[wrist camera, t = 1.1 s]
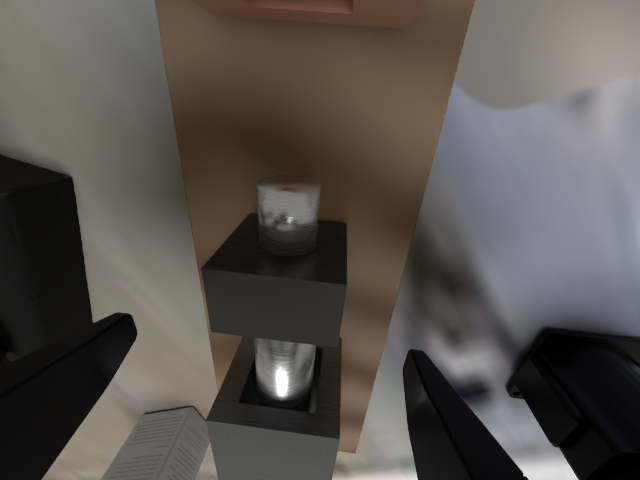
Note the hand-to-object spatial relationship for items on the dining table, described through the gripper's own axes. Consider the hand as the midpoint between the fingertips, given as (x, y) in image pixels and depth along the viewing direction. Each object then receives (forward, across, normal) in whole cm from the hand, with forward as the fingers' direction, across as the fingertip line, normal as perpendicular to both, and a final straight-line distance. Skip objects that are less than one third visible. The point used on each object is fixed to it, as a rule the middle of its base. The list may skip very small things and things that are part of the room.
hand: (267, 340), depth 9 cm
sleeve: (+8, 0, +13) cm, 15 cm away
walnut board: (+8, 0, +3) cm, 9 cm away
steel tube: (+6, 0, +6) cm, 9 cm away
